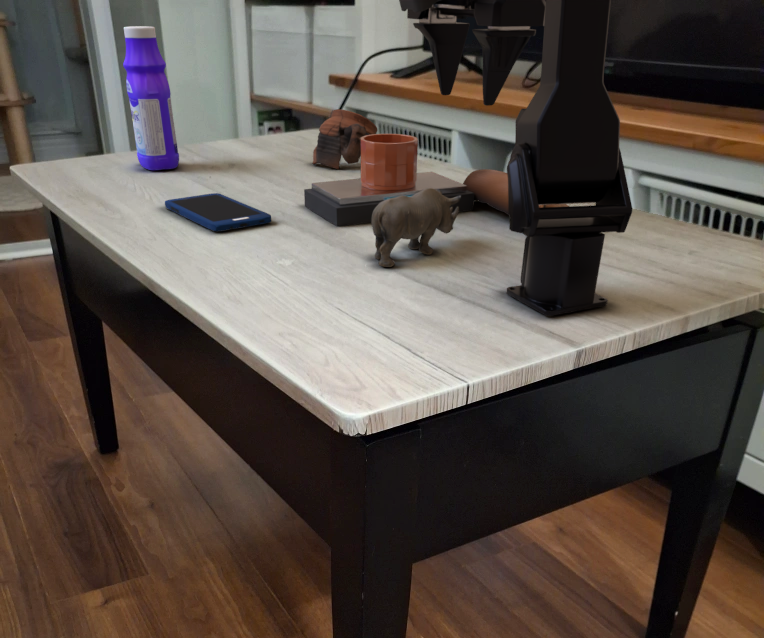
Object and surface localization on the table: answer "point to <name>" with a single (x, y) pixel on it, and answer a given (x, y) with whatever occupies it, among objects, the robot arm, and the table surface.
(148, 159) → the bottle
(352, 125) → the brown irregular curved piece
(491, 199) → the sunglasses case
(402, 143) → the cup
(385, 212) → the rhino figurine
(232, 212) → the cell phone
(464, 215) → the table surface
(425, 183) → the scale
